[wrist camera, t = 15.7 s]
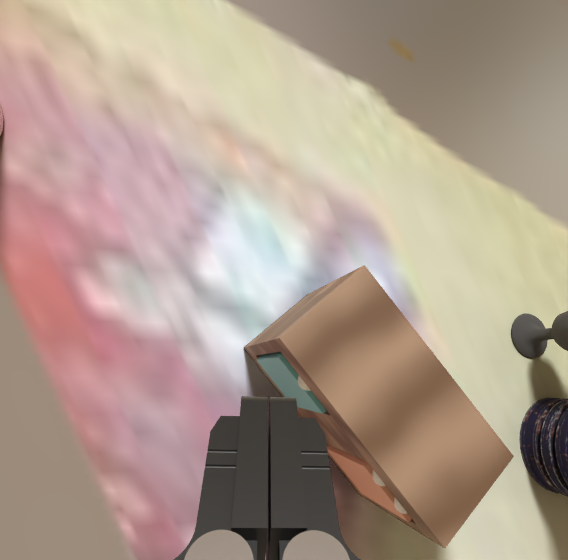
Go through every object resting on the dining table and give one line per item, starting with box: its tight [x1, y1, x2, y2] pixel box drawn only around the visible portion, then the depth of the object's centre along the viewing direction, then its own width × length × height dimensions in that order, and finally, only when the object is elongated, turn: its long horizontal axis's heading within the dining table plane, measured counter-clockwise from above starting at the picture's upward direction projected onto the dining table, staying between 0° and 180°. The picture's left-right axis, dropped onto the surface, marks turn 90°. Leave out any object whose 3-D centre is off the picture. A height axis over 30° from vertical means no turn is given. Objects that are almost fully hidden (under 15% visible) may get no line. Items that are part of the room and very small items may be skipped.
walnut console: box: [244, 265, 514, 548], centre depth 33 cm, size 17×8×12 cm, turn 40°
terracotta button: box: [327, 445, 412, 523], centre depth 33 cm, size 5×6×7 cm
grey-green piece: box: [257, 352, 327, 414], centre depth 33 cm, size 5×6×7 cm
